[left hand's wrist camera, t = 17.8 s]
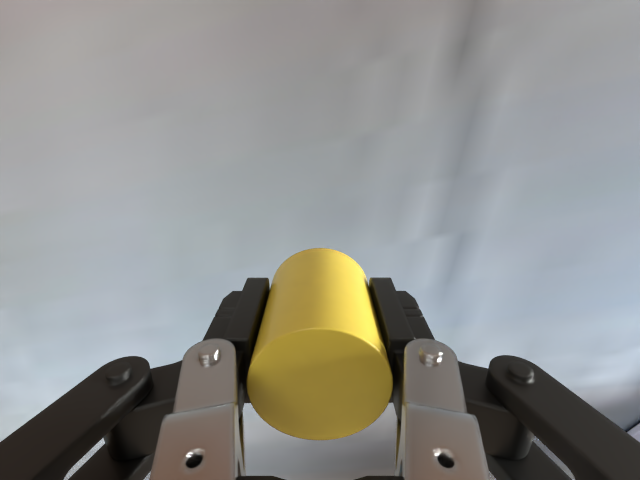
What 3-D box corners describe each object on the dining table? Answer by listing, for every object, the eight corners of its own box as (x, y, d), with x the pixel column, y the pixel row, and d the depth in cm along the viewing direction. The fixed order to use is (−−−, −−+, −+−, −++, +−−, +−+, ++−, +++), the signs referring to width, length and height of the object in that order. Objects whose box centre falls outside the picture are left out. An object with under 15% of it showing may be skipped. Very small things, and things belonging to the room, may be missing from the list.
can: (251, 282, 13) (215, 376, 8) (331, 228, 12) (338, 301, 8) (309, 346, 14) (304, 459, 10) (386, 301, 13) (420, 402, 9)
